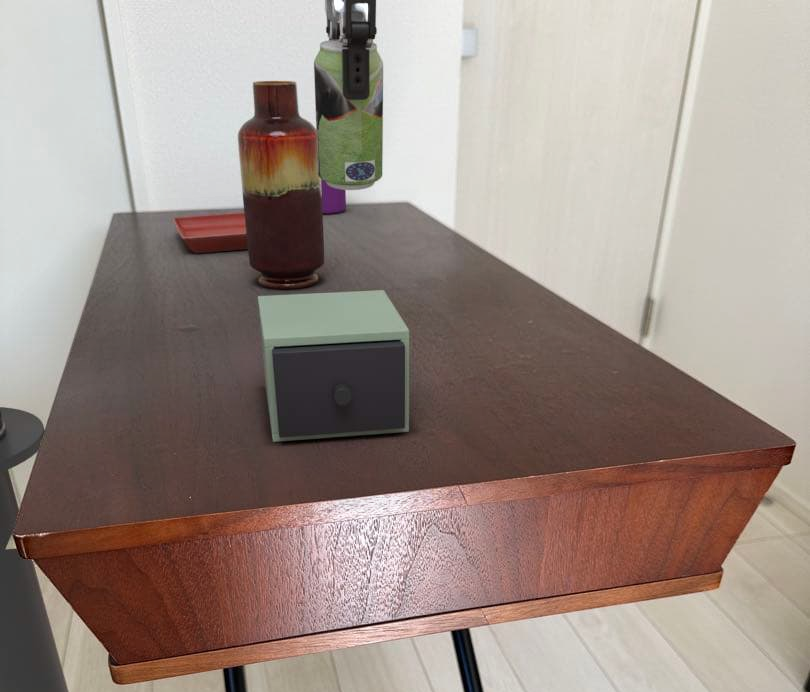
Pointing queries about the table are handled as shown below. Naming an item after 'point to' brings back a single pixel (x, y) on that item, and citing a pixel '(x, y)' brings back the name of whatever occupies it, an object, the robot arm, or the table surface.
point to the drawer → (339, 387)
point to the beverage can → (348, 122)
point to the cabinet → (328, 334)
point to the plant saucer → (213, 232)
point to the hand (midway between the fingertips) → (350, 95)
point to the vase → (281, 189)
